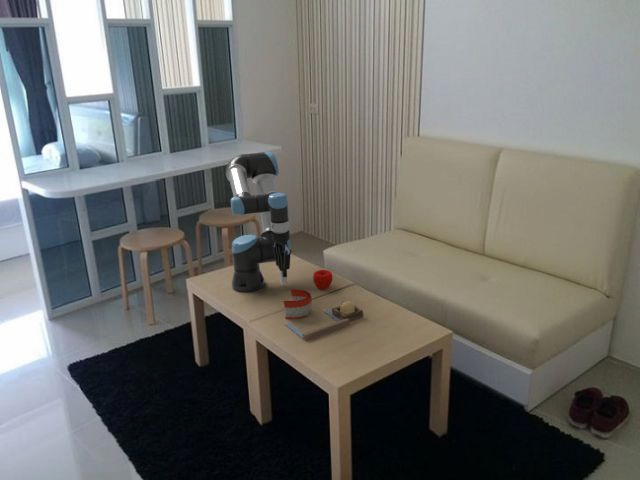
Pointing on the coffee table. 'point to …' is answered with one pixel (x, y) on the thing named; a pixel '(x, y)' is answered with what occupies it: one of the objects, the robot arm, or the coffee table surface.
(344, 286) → the coffee table surface
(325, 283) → the apple
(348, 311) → the pale yellow sphere
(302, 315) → the toy
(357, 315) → the base
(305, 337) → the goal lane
